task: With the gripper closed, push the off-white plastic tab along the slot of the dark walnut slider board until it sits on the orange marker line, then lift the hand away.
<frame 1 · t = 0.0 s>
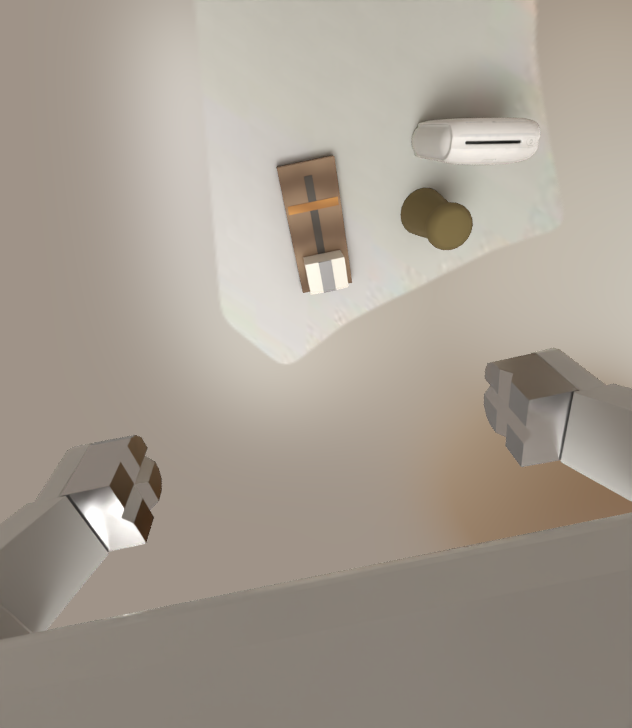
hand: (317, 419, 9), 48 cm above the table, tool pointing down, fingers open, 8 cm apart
slider board: (315, 226, 54), on the table
cork: (422, 211, 54), on the table
fader tab: (325, 272, 53), point 4 cm above the table, slide at 0.0 cm
photo printer: (450, 138, 50), on the table
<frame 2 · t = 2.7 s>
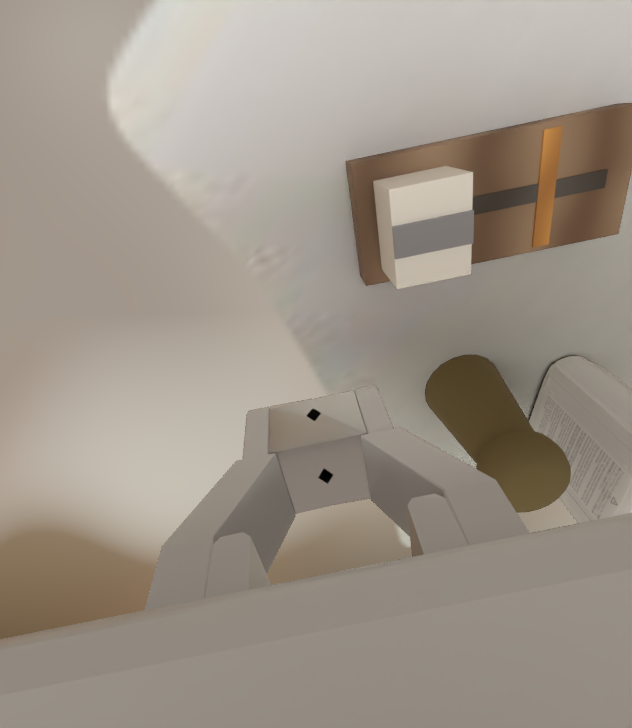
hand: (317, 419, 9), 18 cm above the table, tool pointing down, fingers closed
slider board: (479, 196, 25), on the table
cork: (460, 385, 33), on the table
fader tab: (422, 227, 22), point 4 cm above the table, slide at 0.0 cm
photo printer: (551, 404, 35), on the table
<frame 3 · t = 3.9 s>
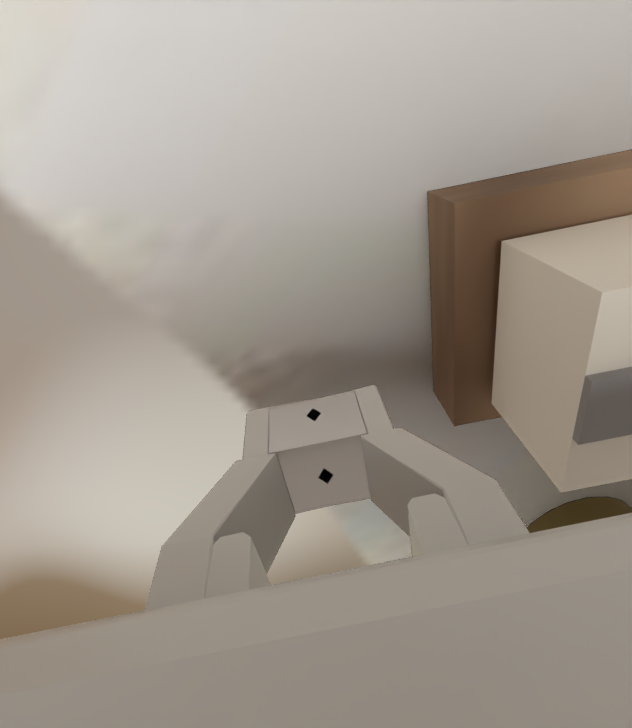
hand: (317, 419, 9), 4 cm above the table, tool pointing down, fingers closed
cork: (571, 534, 21), on the table
fader tab: (617, 349, 9), point 4 cm above the table, slide at 0.0 cm
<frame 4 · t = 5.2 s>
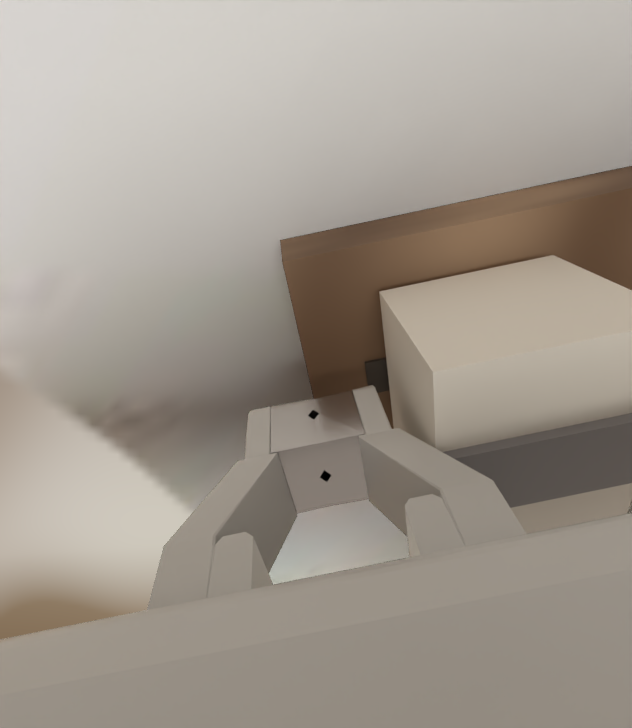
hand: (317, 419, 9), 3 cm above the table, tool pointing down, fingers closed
slider board: (559, 299, 12), on the table
fader tab: (500, 408, 9), point 4 cm above the table, slide at 1.0 cm, touching gripper
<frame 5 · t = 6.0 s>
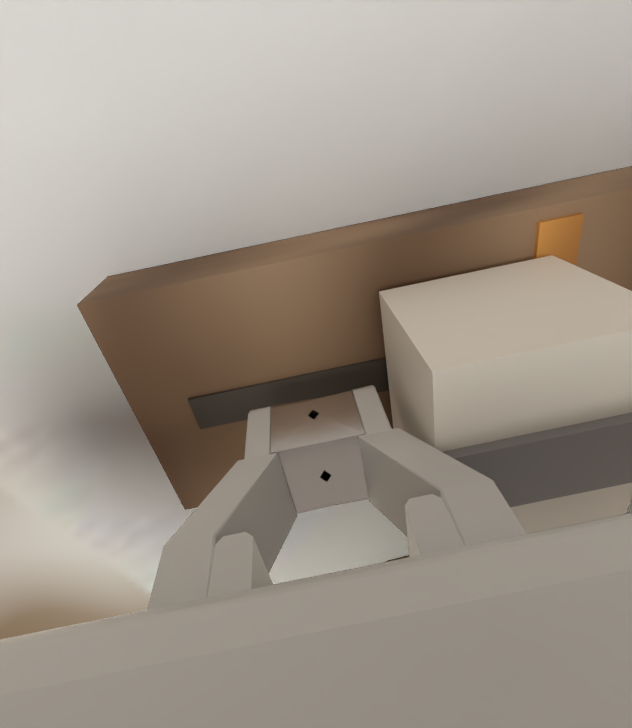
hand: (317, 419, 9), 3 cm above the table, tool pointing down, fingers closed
slider board: (410, 331, 12), on the table
fader tab: (499, 408, 9), point 4 cm above the table, slide at 5.7 cm, touching gripper
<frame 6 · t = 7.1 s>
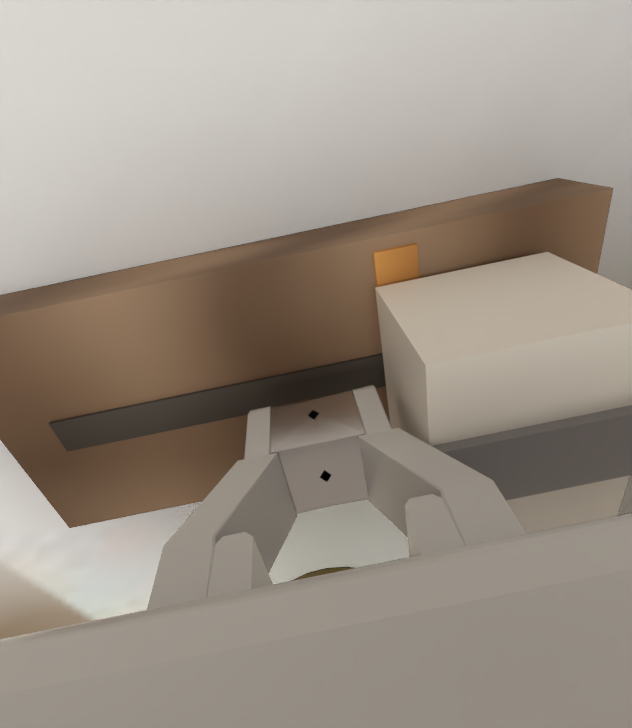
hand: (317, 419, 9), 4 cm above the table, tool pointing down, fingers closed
slider board: (291, 351, 13), on the table
fader tab: (494, 403, 9), point 4 cm above the table, slide at 9.4 cm, touching gripper
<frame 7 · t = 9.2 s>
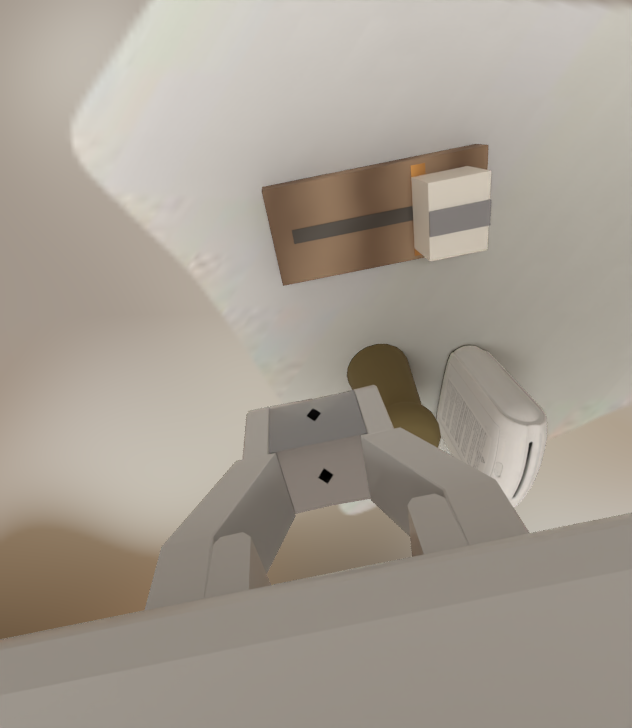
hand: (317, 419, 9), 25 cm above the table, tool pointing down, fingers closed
slider board: (373, 214, 31), on the table
cork: (377, 370, 39), on the table
fader tab: (449, 213, 28), point 4 cm above the table, slide at 9.4 cm
photo printer: (457, 387, 41), on the table
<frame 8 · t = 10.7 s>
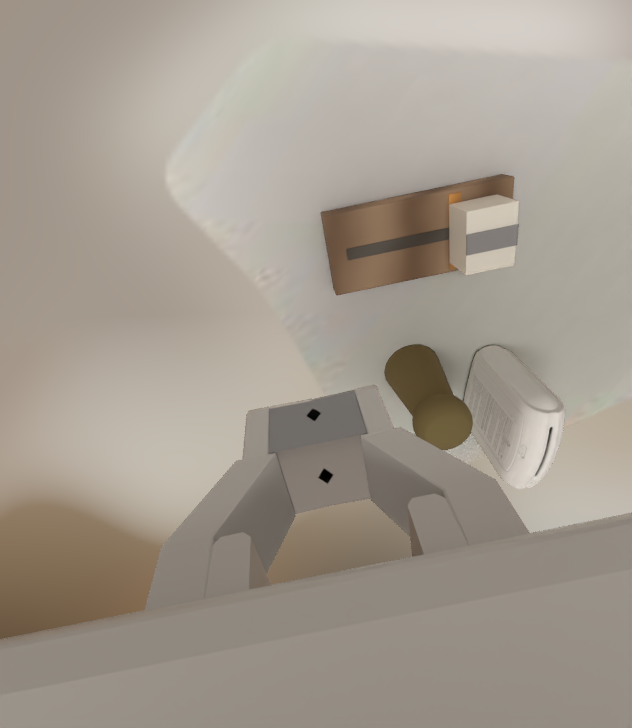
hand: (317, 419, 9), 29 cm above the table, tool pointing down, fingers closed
slider board: (413, 234, 37), on the table
cork: (411, 367, 44), on the table
fader tab: (481, 234, 33), point 4 cm above the table, slide at 9.4 cm
photo printer: (481, 382, 46), on the table
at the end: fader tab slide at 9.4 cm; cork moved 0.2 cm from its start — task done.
